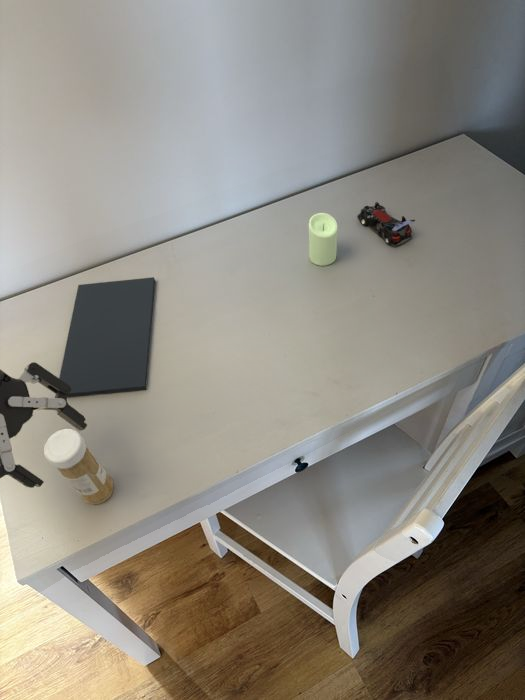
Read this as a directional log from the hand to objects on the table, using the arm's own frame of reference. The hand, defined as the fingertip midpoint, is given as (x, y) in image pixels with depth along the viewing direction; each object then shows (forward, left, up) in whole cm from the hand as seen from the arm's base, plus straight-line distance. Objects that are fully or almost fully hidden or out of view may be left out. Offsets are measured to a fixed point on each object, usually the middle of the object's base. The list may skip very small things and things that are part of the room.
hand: (63, 455), depth 67 cm
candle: (+55, -11, -9) cm, 57 cm away
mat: (+23, +14, -9) cm, 29 cm away
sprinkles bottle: (0, -2, -9) cm, 10 cm away
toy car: (+67, -18, -9) cm, 70 cm away
